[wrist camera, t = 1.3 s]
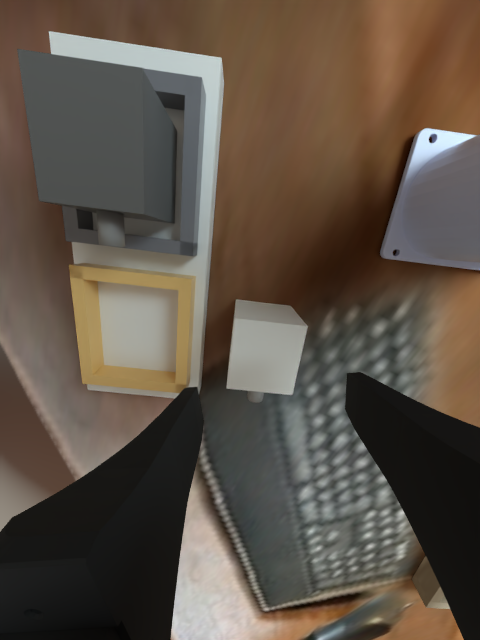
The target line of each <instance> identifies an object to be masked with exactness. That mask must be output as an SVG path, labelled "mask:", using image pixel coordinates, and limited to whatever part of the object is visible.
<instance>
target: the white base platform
mask: <svg viewBox="0 0 480 640" xmlns="http://www.w3.org/2000/svg"><path fill="white" fill-rule="evenodd" d="M49 37H50V46H51V54H54V55H61V56H68V57H74V58H81V59H88V60H94V61H101V62H107V63H114V64H121V65H127V66H134V67H140V68H143V70H144V72H145V74H146V76H147V77H148V79H149V81H150V83H151V85H152V86H153V88H154V90H155V92H156V94H157V95H158V97H159V99H160V101H161V103H162V104H163V106H164V108H165V110H166V112H167V113H168V115H169V117H170V119H171V121H172V122H173V124H174V126H175V128H176V130H177V158H176V197H175V224H173V223H165V222H158V221H150V220H142V219H134V218H126V217H124V228H125V247H113V246H104V245H99V240H98V226H97V213H94V212H89V211H84V210H80V209H75V208H70V207H65V206H62V211H63V220H64V229H65V237H66V241H70V242H72V249H73V259H74V264H71V265H69V272H70V281H71V289H72V298H73V306H74V315H75V324H76V332H77V341H78V350H79V358H80V367H81V376H82V384H87V388H88V390H95V391H105V392H115V393H125V394H135V395H145V396H156V397H166V398H176V397H177V396H178V395H179V394H180V392H181V391H182V390H183V389H184V388H187V387H198V393H200V389H201V382H202V369H203V355H204V342H205V329H206V315H207V302H208V289H209V276H210V262H211V249H212V236H213V223H214V209H215V196H216V183H217V170H218V156H219V143H220V130H221V116H222V103H223V90H224V78H223V68H222V58H218V57H212V56H206V55H199V54H193V53H186V52H180V51H173V50H167V49H160V48H154V47H147V46H141V45H134V44H128V43H121V42H115V41H109V40H102V39H96V38H89V37H83V36H76V35H70V34H63V33H57V32H50V31H49Z"/></svg>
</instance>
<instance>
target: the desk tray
mask: <svg viewBox="0 0 480 640" xmlns="http://www.w3.org/2000/svg"><path fill="white" fill-rule="evenodd" d="M412 581H413V583H414V585H415V587H416V589H417V591H418V593H419V595H420V597H421V599H422V601H423V603H424V604H425V606H426V607H427V608H442V609H450V607H449V605H448V602H447V600H446V598H445V596H444V593H443V591H442V589H441V587H440V585H439V583H438V580H437V578H436V576H435V574H434V572H433V570H432V568H431V566H430V563H429V561H428V559H427V557H426V556H425V558H424V559H423V561H422V563H421V564H420V566H419V568H418V569H417V571H416V573H415V574H414V576H413V578H412Z"/></svg>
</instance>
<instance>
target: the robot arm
mask: <svg viewBox="0 0 480 640" xmlns="http://www.w3.org/2000/svg"><path fill="white" fill-rule="evenodd" d="M429 137H432V143H430V142H429ZM395 249H396V254H395V255H394V256H393V251H394V250H395ZM380 255H381V257H382V258H385V259H392V260H400V261H408V262H416V263H424V264H432V265H440V266H448V267H456V268H464V269H472V270H480V134H479V135H477V136H476V135H470V134H463V133H456V132H449V131H443V130H436V129H429V128H425V129H423V130H421V131H420V132H418V133H417V134H416V135H415V137H414V140H413V143H412V146H411V150H410V153H409V157H408V160H407V163H406V167H405V170H404V173H403V177H402V180H401V183H400V187H399V190H398V193H397V197H396V200H395V203H394V207H393V210H392V213H391V217H390V220H389V223H388V227H387V230H386V233H385V237H384V240H383V243H382V247H381V250H380ZM345 410H346V412H347V414H348V416H349V418H350V421H351V423H352V425H353V427H354V429H355V430H356V432H357V434H358V435H359V437H360V439H361V440H362V442H363V443H364V445H365V446H366V448H367V450H368V451H369V453H370V454H371V456H372V457H373V459H374V461H375V462H376V464H377V465H378V467H379V468H380V470H381V471H382V473H383V475H384V476H385V478H386V479H387V481H388V483H389V485H390V486H391V488H392V490H393V492H394V494H395V495H396V497H397V499H398V501H399V503H400V505H401V507H402V509H403V511H404V513H405V515H406V516H407V518H408V520H409V522H410V524H411V526H412V528H413V531H414V533H415V535H416V537H417V539H418V541H419V543H420V545H421V547H422V549H423V551H424V553H425V555H426V557H427V559H428V561H429V563H430V566H431V568H432V570H433V572H434V574H435V576H436V578H437V580H438V583H439V585H440V587H441V589H442V591H443V593H444V596H445V598H446V600H447V602H448V605H449V607H450V609H451V611H452V614H453V616H454V618H455V620H456V623H457V625H458V627H459V629H460V632H461V634H462V636H463V638H464V640H480V428H479V427H476V426H474V425H471V424H468V423H466V422H463V421H461V420H458V419H456V418H453V417H451V416H449V415H446V414H444V413H441V412H439V411H437V410H435V409H432V408H430V407H428V406H426V405H424V404H422V403H420V402H417V401H415V400H413V399H411V398H409V397H407V396H405V395H403V394H401V393H400V392H398V391H396V390H394V389H392V388H390V387H388V386H386V385H384V384H382V383H381V382H379V381H377V380H375V379H373V378H371V377H369V376H367V375H365V374H363V373H361V372H357V373H347V384H346V403H345ZM203 423H204V420H203V414H202V409H201V404H200V398H199V393H198V387H187V388H184V389H183V390H182V391H181V392H180V394H179V395H178V396H177V397H176V398H175V399H174V400H173V401H172V402H171V403H170V404H169V406H168V407H167V408H166V409H165V410H164V411H163V412H162V413H161V414H160V415H159V416H158V417H157V418H156V419H155V420H154V421H153V422H152V423H151V424H150V425H149V426H148V427H147V428H146V429H145V430H143V431H142V432H141V433H140V434H139V435H138V436H137V437H136V438H134V439H133V440H132V441H131V442H130V443H128V444H127V445H126V446H125V447H124V448H122V449H121V450H120V451H119V452H117V453H116V454H114V455H113V456H112V457H110V458H109V459H108V460H106V461H105V462H103V463H102V464H101V465H99V466H98V467H97V468H95V469H94V470H92V471H91V472H89V473H88V474H86V475H85V476H83V477H82V478H80V479H79V480H77V481H75V482H74V483H72V484H71V485H69V486H67V487H66V488H64V489H63V490H61V491H59V492H57V493H56V494H54V495H52V496H51V497H49V498H47V499H45V500H43V501H42V502H40V503H38V504H36V505H35V506H33V507H31V508H29V509H27V510H25V511H24V512H22V513H20V514H18V515H16V516H14V517H12V518H11V520H10V521H9V522H8V523H7V525H6V526H5V527H4V528H3V529H2V531H1V532H0V640H170V637H171V628H172V618H173V608H174V600H175V591H176V583H177V574H178V566H179V558H180V551H181V543H182V536H183V529H184V522H185V515H186V508H187V502H188V497H189V492H190V488H191V484H192V479H193V475H194V471H195V467H196V463H197V458H198V454H199V450H200V445H201V441H202V432H203Z"/></svg>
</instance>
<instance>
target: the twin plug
mask: <svg viewBox="0 0 480 640" xmlns="http://www.w3.org/2000/svg"><path fill="white" fill-rule="evenodd" d="M17 50H18V57H19V64H20V71H21V78H22V85H23V92H24V99H25V106H26V113H27V120H28V127H29V134H30V141H31V148H32V155H33V162H34V169H35V176H36V183H37V190H38V197H39V201H42V202H47V203H51V204H56V205H61V206H65V207H70V208H75V209H80V210H84V211H89V212H94V213H97V226H98V240H99V245H104V246H113V247H125V228H124V217H126V218H134V219H142V220H150V221H158V222H165V223H173V224H175V197H176V158H177V130H176V128H175V126H174V124H173V122H172V121H171V119H170V117H169V115H168V113H167V112H166V110H165V108H164V106H163V104H162V103H161V101H160V99H159V97H158V95H157V94H156V92H155V90H154V88H153V86H152V85H151V83H150V81H149V79H148V77H147V76H146V74H145V72H144V70H143V68H140V67H134V66H127V65H121V64H114V63H107V62H101V61H94V60H88V59H81V58H74V57H68V56H61V55H54V54H48V53H41V52H35V51H28V50H21V49H17Z"/></svg>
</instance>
